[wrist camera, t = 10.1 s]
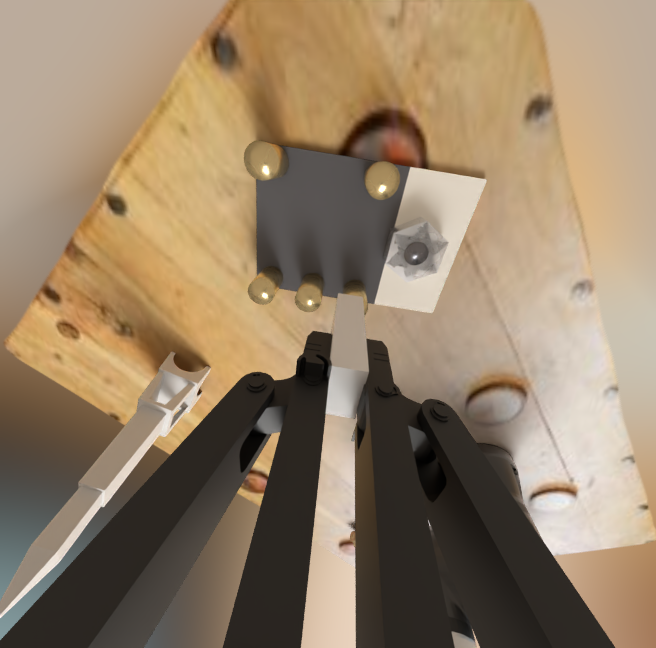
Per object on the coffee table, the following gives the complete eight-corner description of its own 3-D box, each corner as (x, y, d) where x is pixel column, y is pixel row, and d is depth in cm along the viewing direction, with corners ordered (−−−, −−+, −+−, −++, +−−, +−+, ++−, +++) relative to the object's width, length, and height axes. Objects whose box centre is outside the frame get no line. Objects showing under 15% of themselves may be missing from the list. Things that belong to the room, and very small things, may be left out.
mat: (484, 179, 27) (487, 179, 27) (431, 311, 35) (432, 313, 35) (258, 142, 27) (256, 141, 26) (258, 283, 35) (257, 285, 35)
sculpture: (164, 382, 47) (-55, 634, 22) (171, 351, 43) (-88, 618, 18) (200, 396, 49) (33, 650, 23) (210, 367, 44) (21, 639, 19)
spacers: (395, 164, 26) (404, 164, 22) (363, 302, 35) (364, 321, 31) (261, 142, 26) (243, 137, 22) (260, 285, 35) (248, 302, 31)
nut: (437, 210, 28) (444, 214, 26) (446, 260, 31) (453, 267, 29) (376, 233, 30) (377, 239, 28) (389, 279, 33) (392, 287, 31)
